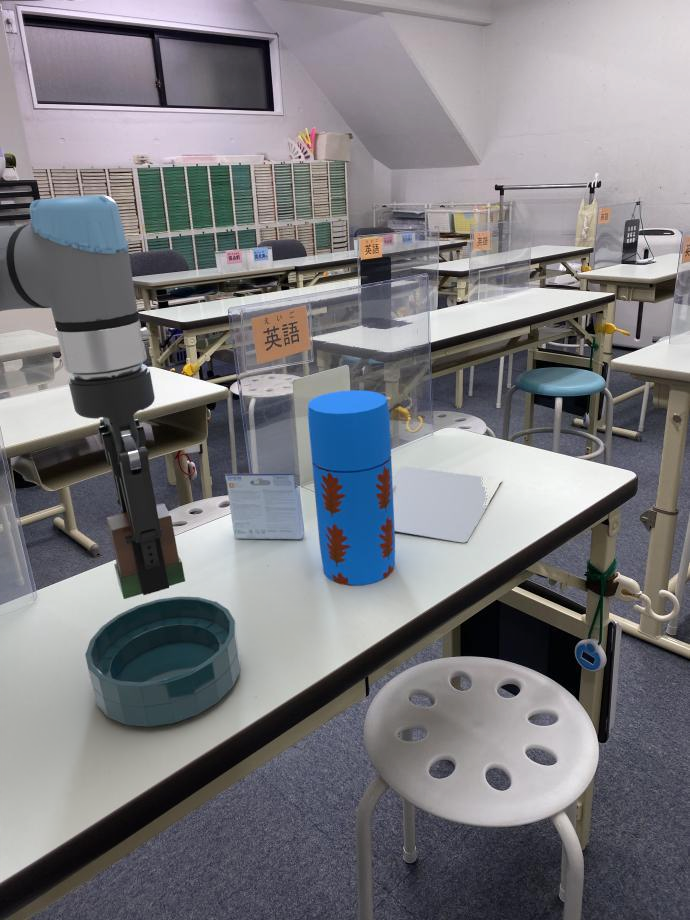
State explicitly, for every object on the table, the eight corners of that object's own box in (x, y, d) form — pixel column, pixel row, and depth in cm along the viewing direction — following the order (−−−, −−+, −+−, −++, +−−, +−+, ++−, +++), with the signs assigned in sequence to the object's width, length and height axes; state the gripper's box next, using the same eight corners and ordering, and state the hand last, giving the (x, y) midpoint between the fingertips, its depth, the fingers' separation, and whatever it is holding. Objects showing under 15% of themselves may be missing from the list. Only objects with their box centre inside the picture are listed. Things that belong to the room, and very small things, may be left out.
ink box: (305, 534, 110) (299, 467, 106) (302, 541, 108) (295, 473, 104) (237, 532, 112) (228, 467, 108) (232, 539, 110) (223, 473, 106)
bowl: (89, 664, 82) (78, 622, 80) (218, 622, 89) (212, 583, 86) (108, 754, 69) (96, 706, 67) (260, 697, 75) (254, 652, 73)
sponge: (118, 583, 74) (103, 517, 71) (177, 567, 77) (165, 502, 74) (123, 599, 71) (108, 531, 68) (185, 581, 74) (173, 514, 71)
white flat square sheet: (383, 466, 134) (383, 461, 134) (503, 482, 125) (503, 476, 124) (327, 522, 113) (326, 516, 113) (465, 546, 104) (466, 540, 103)
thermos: (370, 593, 93) (360, 418, 83) (307, 574, 98) (290, 408, 89) (409, 557, 101) (402, 394, 92) (348, 541, 107) (336, 386, 97)
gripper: (166, 379, 60) (206, 607, 68) (132, 348, 74) (169, 540, 82) (76, 395, 57) (129, 631, 65) (59, 360, 71) (105, 557, 79)
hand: (151, 580), depth 74 cm, fingers closed on sponge, 4 cm apart
